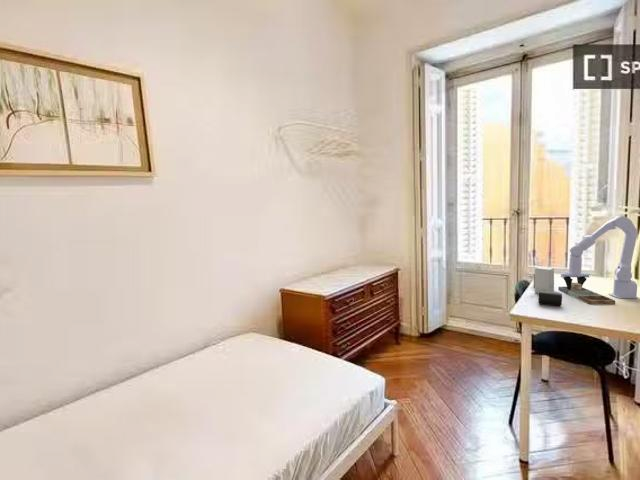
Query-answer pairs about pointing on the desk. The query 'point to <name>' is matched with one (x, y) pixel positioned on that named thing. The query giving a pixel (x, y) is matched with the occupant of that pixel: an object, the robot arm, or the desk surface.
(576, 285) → the maple letter cube
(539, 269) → the skincare box
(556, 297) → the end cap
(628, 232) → the robot arm
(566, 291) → the charcoal tray
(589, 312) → the desk surface
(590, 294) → the sage tray
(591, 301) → the walnut tray
